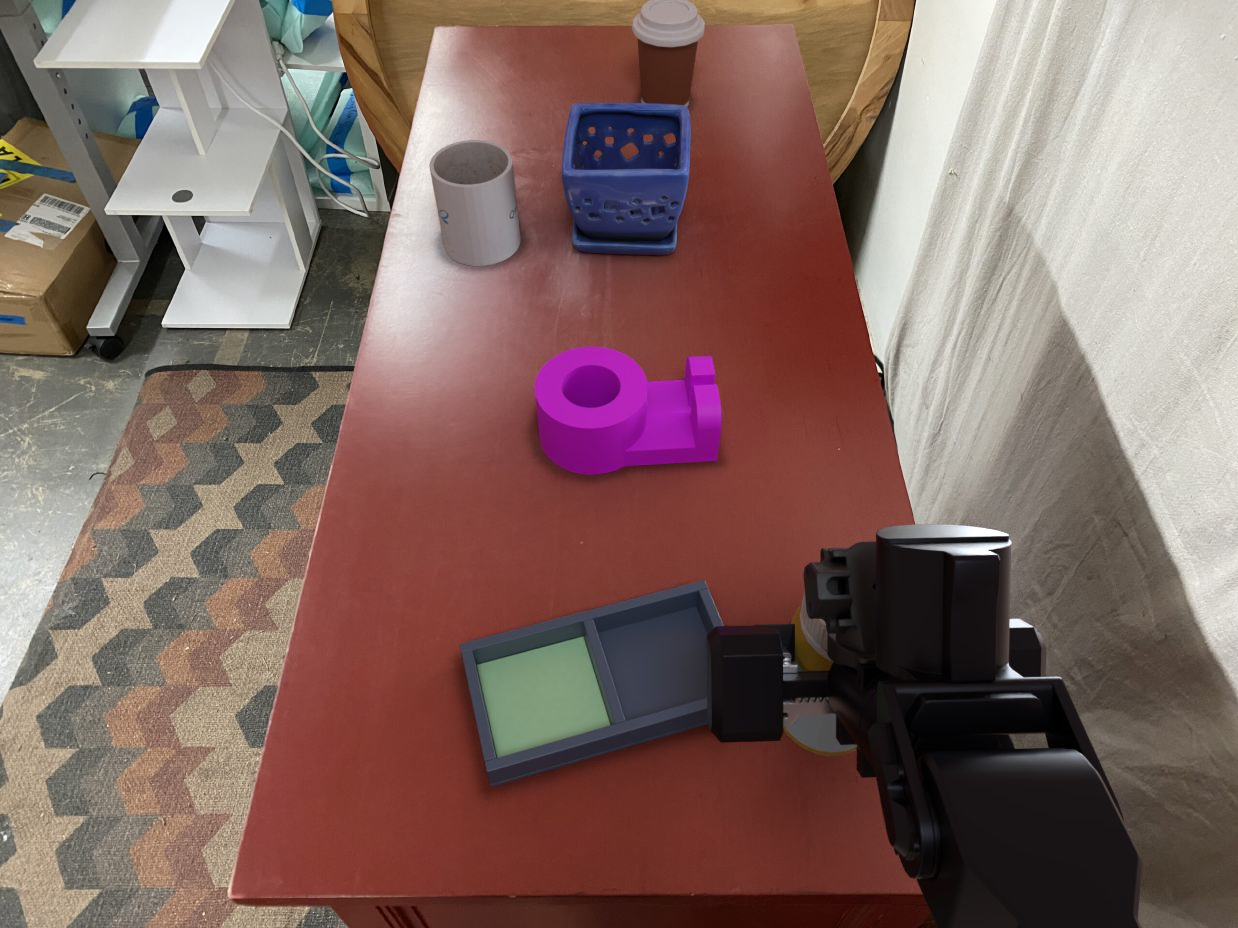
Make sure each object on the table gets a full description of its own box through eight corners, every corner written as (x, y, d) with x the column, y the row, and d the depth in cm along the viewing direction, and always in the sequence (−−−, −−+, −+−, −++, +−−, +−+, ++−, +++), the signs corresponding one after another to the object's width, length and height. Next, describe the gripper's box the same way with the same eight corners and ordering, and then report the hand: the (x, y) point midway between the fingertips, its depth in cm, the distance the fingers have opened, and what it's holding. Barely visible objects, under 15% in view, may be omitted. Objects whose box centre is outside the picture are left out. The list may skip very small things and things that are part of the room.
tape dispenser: (540, 477, 82) (535, 431, 77) (538, 396, 88) (533, 349, 83) (718, 467, 82) (724, 421, 78) (703, 388, 89) (708, 340, 84)
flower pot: (685, 268, 100) (692, 173, 91) (564, 266, 100) (558, 170, 91) (684, 196, 108) (690, 102, 99) (572, 194, 109) (568, 100, 99)
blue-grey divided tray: (748, 712, 68) (753, 695, 66) (491, 787, 64) (486, 772, 62) (701, 598, 74) (704, 579, 72) (464, 661, 70) (459, 643, 68)
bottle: (764, 675, 67) (785, 554, 56) (857, 662, 68) (897, 541, 56) (787, 766, 62) (816, 655, 51) (887, 752, 63) (937, 639, 52)
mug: (514, 267, 100) (505, 189, 92) (436, 264, 100) (421, 185, 93) (529, 200, 108) (522, 123, 100) (457, 197, 108) (445, 119, 100)
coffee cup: (713, 99, 122) (721, 8, 113) (670, 127, 118) (674, 35, 108) (660, 76, 126) (664, -14, 116) (616, 102, 121) (616, 11, 112)
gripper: (1110, 562, 44) (977, 513, 60) (725, 571, 44) (692, 520, 59) (1103, 784, 45) (974, 679, 61) (727, 795, 45) (694, 687, 60)
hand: (835, 638), depth 60 cm, fingers closed on bottle, 7 cm apart
